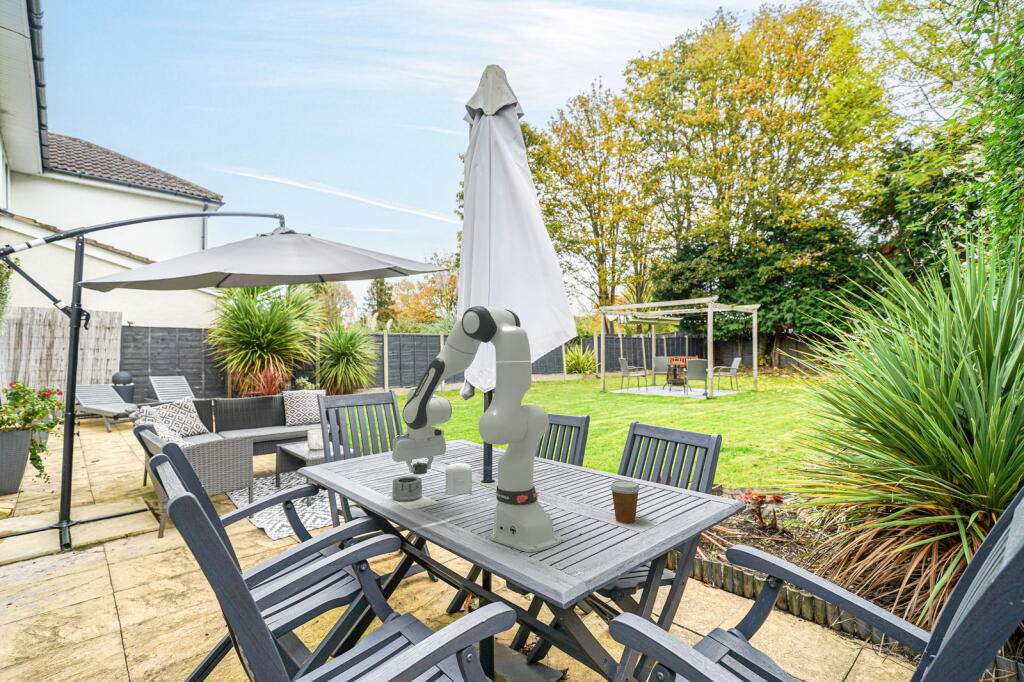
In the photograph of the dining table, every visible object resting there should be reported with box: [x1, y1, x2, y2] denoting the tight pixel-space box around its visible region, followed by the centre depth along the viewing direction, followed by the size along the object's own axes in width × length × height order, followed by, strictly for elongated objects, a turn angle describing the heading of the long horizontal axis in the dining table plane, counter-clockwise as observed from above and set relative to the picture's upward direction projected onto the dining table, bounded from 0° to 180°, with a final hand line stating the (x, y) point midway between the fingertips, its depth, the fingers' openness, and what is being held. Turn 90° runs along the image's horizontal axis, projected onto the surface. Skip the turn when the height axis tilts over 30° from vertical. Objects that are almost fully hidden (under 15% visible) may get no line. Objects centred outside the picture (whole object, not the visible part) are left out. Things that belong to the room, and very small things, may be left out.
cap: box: [412, 461, 428, 475], centre depth 176 cm, size 5×5×4 cm
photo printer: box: [445, 462, 473, 496], centre depth 190 cm, size 10×4×12 cm, turn 98°
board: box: [386, 494, 439, 511], centre depth 181 cm, size 19×12×1 cm, turn 38°
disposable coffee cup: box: [609, 479, 641, 524], centre depth 160 cm, size 10×10×12 cm
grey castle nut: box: [391, 475, 423, 502], centre depth 184 cm, size 11×11×6 cm
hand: (420, 470), depth 176 cm, fingers closed on cap, 5 cm apart
